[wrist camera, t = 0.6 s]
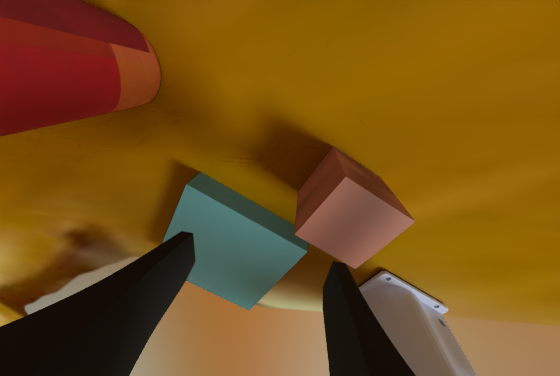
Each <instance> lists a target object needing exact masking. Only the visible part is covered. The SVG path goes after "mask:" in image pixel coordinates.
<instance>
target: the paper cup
mask: <svg viewBox="0 0 560 376" xmlns="http://www.w3.org/2000/svg"><path fill="white" fill-rule="evenodd" d="M160 84H161V69H160V64H159V61H158V58H157V55H156V53H155V51H154V49H153V47H152V46H151V44H150V42H149V41H148V40H147V38H146V37H145V36H144V35H143V34H142V33H141V32H140V31H139V30H138V29H137V28H136V27H134V26H133V25H131V24H130V23H128V22H126V21H124V20H122V19H121V18H119V17H117V16H114V15H112V14H110V13H108V12H106V11H104V10H102V9H99V8H97V7H95V6H93V5H90V4H88V3H86V2H84V1H81V0H0V136H5V135H9V134H14V133H19V132H23V131H28V130H32V129H37V128H42V127H46V126H51V125H56V124H60V123H65V122H69V121H74V120H79V119H83V118H88V117H92V116H97V115H101V114H106V113H110V112H115V111H119V110H124V109H128V108H132V107H136V106H140V105H143V104H146V103H148V102H150V101H151V100H152V99H154V97H155V96H156V95H157V93H158V91H159V88H160Z"/></svg>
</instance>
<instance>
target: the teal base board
mask: <svg viewBox="0 0 560 376" xmlns="http://www.w3.org/2000/svg"><path fill="white" fill-rule="evenodd" d="M181 231H185V232H190V233H193V236H194V248H195V260H196V261H195V263H194V266H193V268H192V270H191V272H190V274H189V276H188V278H187V279H186V281H188V282H190V283H192V284H194V285H197V286H199V287H201V288H203V289H205V290H207V291H209V292H211V293H213V294H215V295H218V296H220V297H222V298H224V299H226V300H228V301H230V302H232V303H234V304H236V305H238V306H241V307H243V308H245V309H247V310H250V309H251V308H252V307H253V306H254V305H255V304H256V303H257V302H258V301H259V300H260V299H261V298H262V297H263V296H264V295H265V294H266V293H267V292H268V291H269V290H270V289H271V288H272V287H273V286H274V285H275V284H276V283H277V282H278V281H279V280H280V279H281V278H282V277H283V276H284V275H285V274H286V273H287V272H288V271H289V270H290V269H291V268H292V267H293V266H294V265H295V264H296V263H297V262H298V261H299V260H300V259H301V258H302V257H303V256H304V255H305V254H306V253H307V252H308V242H307V241H305V240H303V239H301V238H300V237H298V236H296V235H295V226H294V225H293V224H291V223H289V222H287V221H286V220H284V219H282V218H280V217H279V216H277V215H275V214H273V213H272V212H270V211H268V210H266V209H265V208H263V207H261V206H259V205H258V204H256V203H254V202H252V201H251V200H249V199H247V198H245V197H244V196H242V195H240V194H238V193H237V192H235V191H233V190H231V189H230V188H228V187H226V186H224V185H223V184H221V183H219V182H217V181H216V180H214V179H212V178H210V177H209V176H207V175H205V174H203V173H202V172H200V173H199V174H198V175H197V176H196V177H194V178H193V179H192V180H191V181H189V182H188V183H187V184H186V186H185V189H184V191H183V193H182V196H181V198H180V201H179V203H178V206H177V208H176V211H175V213H174V216H173V218H172V220H171V223H170V225H169V228H168V230H167V233H166V235H165V238H164V240H163V243H164V242H165V241H167V240H168V239H170V238H171V237H173V236H175V235H176V234H178V233H179V232H181Z"/></svg>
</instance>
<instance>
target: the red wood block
mask: <svg viewBox="0 0 560 376" xmlns="http://www.w3.org/2000/svg"><path fill="white" fill-rule="evenodd" d="M413 223H415V220H414V219H413V218H412V216H411V215H410V214H409V213H408V211H407V210H406V209H405V208H404V206H403V205H402V204H401V203H400V201H399V200H398V199H397V198H396V196H395V195H394V194H393V192H392V191H391V190H390V189H389V187H388V186H387V185H386V184H385V182H384V181H383V180H382V179H381V178H380V177H379V176H377V175H376V174H374V173H373V172H371V171H370V170H368V169H367V168H365V167H364V166H362V165H361V164H359V163H358V162H356V161H355V160H353V159H352V158H350V157H349V156H347V155H346V154H344V153H343V152H341V151H340V150H338V149H337V148H335V147H334V146H333V147H332V148H331V149H330V151H329V152H328V153H327V155H326V156H325V157H324V158H323V160H322V161H321V162H320V164H319V165H318V166H317V168H316V169H315V170H314V171H313V173H312V174H311V175H310V177H309V178H308V179H307V180H306V182H305V183H304V184H303V186H302V187H301V188H300V189H299V191H298V200H297V211H296V223H295V235H296V236H298V237H300V238H301V239H303V240H305V241H307V242H308V243H310V244H312V245H314V246H315V247H317V248H319V249H321V250H323V251H324V252H326V253H328V254H330V255H331V256H333V257H335V258H337V259H338V260H340V261H342V262H344V263H346V264H347V265H349V266H351V267H353V268H354V269H356V268H358V267H359V266H360V265H361V264H363V263H364V262H365V261H366V260H368V259H369V258H370V257H372V256H373V255H374V254H375V253H377V252H378V251H379V250H380V249H382V248H383V247H384V246H386V245H387V244H388V243H389V242H391V241H392V240H393V239H394V238H396V237H397V236H398V235H400V234H401V233H402V232H403V231H405V230H406V229H407V228H408V227H410V226H411V225H412V224H413Z"/></svg>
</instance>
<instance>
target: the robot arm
mask: <svg viewBox="0 0 560 376" xmlns="http://www.w3.org/2000/svg"><path fill="white" fill-rule="evenodd" d="M195 261H196V260H195V248H194V236H193V233H190V232H185V231H181V232H179V233H178V234H176V235H175V236H173V237H171V238H170V239H168V240H167V241H165V242H164V243H162V244H161V245H159V246H158V247H156V248H155V249H153V250H151V251H150V252H148V253H147V254H145V255H143V256H142V257H140V258H139V259H137V260H136V261H134V262H132V263H130V264H129V265H127V266H126V267H124V268H122V269H120V270H119V271H117V272H115V273H113V274H112V275H110V276H108V277H106V278H105V279H103V280H101V281H99V282H97V283H95V284H93V285H91V286H89V287H88V288H85V289H83V290H82V291H80V292H78V293H75V294H73V295H71V296H69V297H67V298H65V299H63V300H60V301H58V302H56V303H54V304H52V305H50V306H48V307H45V308H43V309H41V310H39V311H37V312H34V313H32V314H30V315H27V316H25V317H23V318H20V319H18V320H16V321H13V322H11V323H9V324H6V325H4V326H1V327H0V376H129V375H130V373H131V371H132V369H133V367H134V365H135V363H136V361H137V360H138V358H139V356H140V354H141V352H142V350H143V349H144V347H145V345H146V343H147V341H148V339H149V338H150V336H151V334H152V333H153V331H154V329H155V328H156V326H157V324H158V323H159V321H160V320H161V318H162V317H163V315H164V314H165V312H166V311H167V309H168V307H169V306H170V304H171V303H172V301H173V300H174V298H175V297H176V295H177V294H178V292H179V291H180V289H181V287H182V286H183V284H184V283H185V281H186V279H187V278H188V276H189V274H190V272H191V270H192V268H193V266H194V263H195ZM447 311H448V308H447V306H446V305H444V304H442V303H441V302H439V301H437V300H436V299H434V298H432V297H430V296H429V295H427V294H425V293H423V292H422V291H420V290H418V289H417V288H415V287H413V286H411V285H410V284H408V283H406V282H404V281H403V280H401V279H399V278H398V277H396V276H394V275H392V274H391V273H389V272H387V271H381V272H380V273H378V274H377V275H376V276H374V277H373V278H371V279H370V280H369V281H367V282H366V283H364V284H363V285H362V286H360V287H359V288H358V286H357V284H356V282H355V280H354V278H353V277H352V275H351V273H350V271H349V269H348V267H347V265H346V264H344V263H339V262H334V261H333V263H332V265H331V268H330V271H329V273H328V276H327V278H326V281H325V284H324V286H323V314H324V324H325V333H326V342H327V351H328V360H329V372H330V376H478V375H477V374H476V372H475V370H474V368H473V367H472V365H471V363H470V362H469V360H468V358H467V356H466V355H465V354H464V351H463V350H462V348H461V347H460V345H459V343H458V341H457V340H456V338H455V336H454V334H453V333H452V331H451V329H450V328H449V326H448V324H447V322H446V321H445V319H444V317H443V316H442V314H444V313H446V312H447Z"/></svg>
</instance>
